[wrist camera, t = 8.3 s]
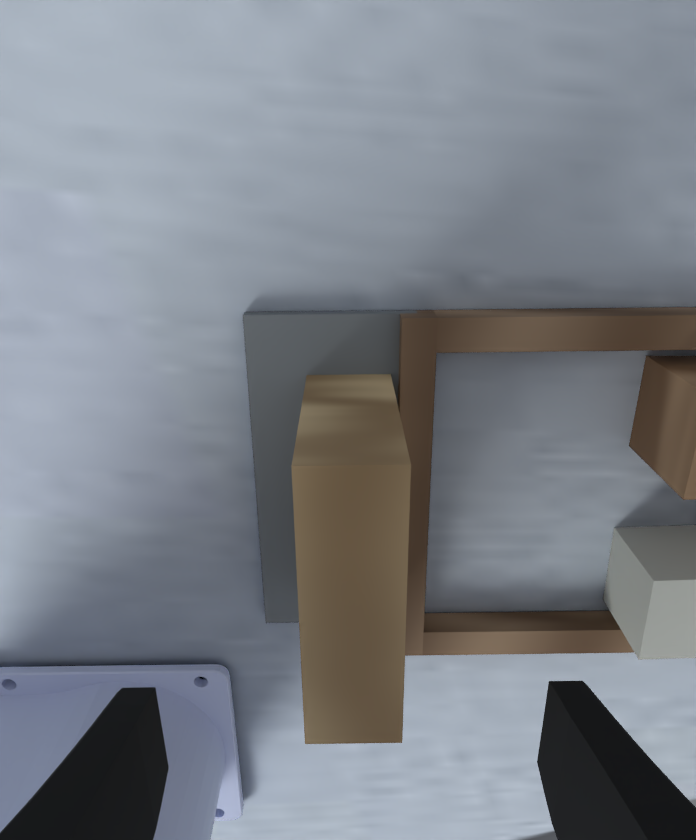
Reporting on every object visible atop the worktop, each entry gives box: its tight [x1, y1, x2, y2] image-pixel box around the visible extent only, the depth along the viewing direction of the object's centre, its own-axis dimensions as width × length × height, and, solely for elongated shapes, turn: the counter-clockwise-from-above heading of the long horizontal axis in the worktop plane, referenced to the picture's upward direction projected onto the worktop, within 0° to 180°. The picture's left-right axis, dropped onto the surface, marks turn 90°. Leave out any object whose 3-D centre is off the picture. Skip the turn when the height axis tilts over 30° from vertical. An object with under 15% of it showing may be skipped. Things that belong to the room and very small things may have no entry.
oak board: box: [291, 374, 411, 744], centre depth 17 cm, size 2×8×6 cm, turn 1°
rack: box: [398, 307, 696, 655], centre depth 20 cm, size 12×12×1 cm
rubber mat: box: [243, 310, 417, 623], centre depth 20 cm, size 5×11×1 cm, turn 0°
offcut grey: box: [603, 525, 696, 660], centre depth 21 cm, size 3×3×3 cm
